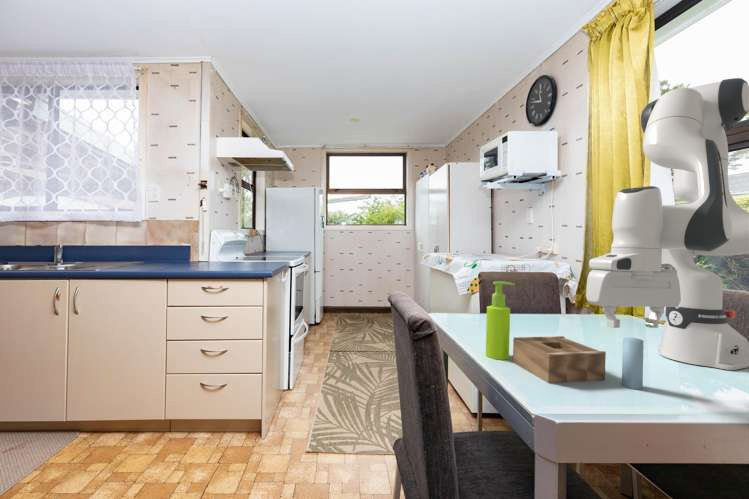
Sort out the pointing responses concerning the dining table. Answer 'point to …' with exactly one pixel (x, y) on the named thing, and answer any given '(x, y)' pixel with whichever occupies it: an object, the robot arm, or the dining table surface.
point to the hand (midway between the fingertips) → (632, 327)
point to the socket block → (558, 359)
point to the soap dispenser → (498, 325)
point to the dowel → (632, 363)
